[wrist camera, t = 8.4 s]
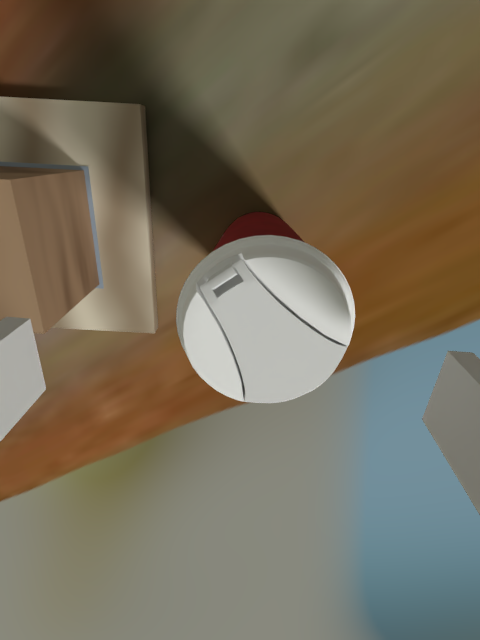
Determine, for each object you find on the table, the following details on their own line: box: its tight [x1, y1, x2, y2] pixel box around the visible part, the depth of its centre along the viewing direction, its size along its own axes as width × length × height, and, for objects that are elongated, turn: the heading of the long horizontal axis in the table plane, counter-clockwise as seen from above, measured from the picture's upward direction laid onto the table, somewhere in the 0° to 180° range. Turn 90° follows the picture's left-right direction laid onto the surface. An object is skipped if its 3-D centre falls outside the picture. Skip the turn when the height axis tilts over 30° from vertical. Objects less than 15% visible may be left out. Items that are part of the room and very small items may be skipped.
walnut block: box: [0, 166, 99, 334], centre depth 21 cm, size 8×8×8 cm
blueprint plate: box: [0, 97, 158, 333], centre depth 26 cm, size 16×16×1 cm
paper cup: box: [176, 212, 355, 403], centre depth 20 cm, size 8×8×14 cm
